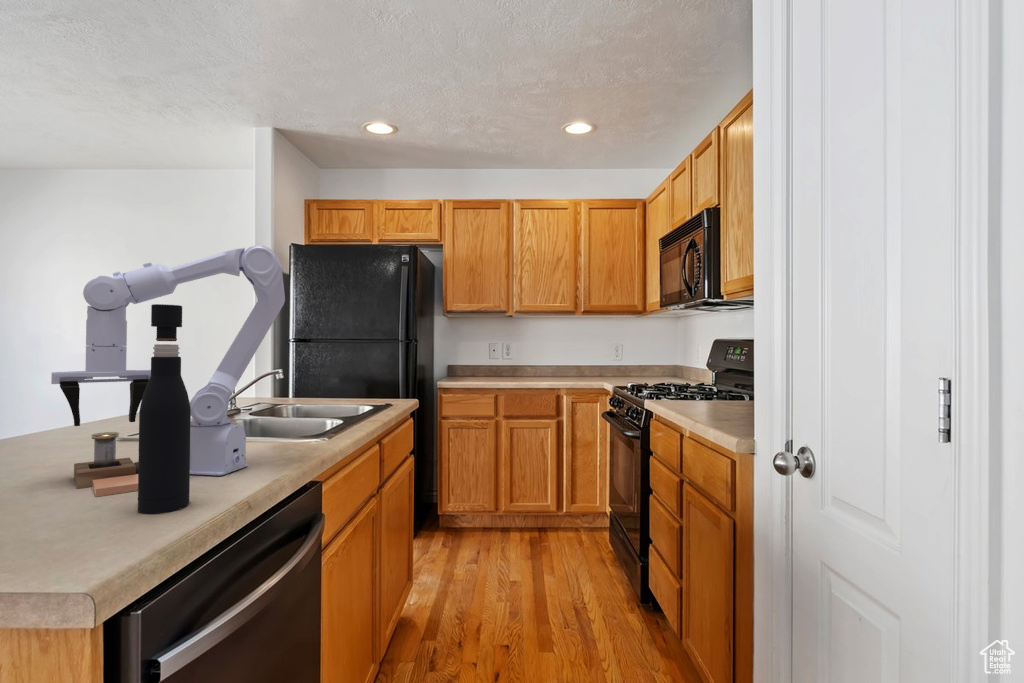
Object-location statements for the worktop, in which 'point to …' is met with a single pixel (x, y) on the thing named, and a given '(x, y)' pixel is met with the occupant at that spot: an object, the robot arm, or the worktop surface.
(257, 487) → the worktop surface
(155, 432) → the black water bottle
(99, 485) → the tile pad
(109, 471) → the clamp block
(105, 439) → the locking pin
